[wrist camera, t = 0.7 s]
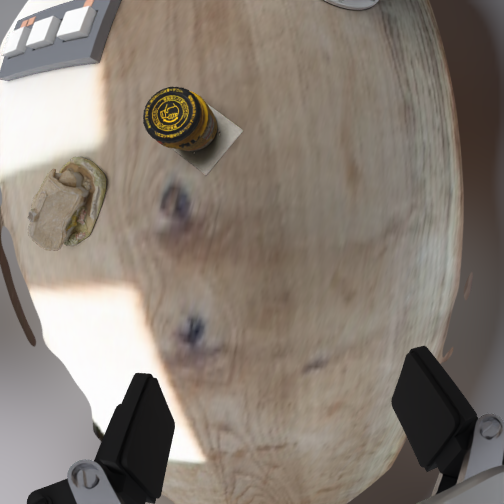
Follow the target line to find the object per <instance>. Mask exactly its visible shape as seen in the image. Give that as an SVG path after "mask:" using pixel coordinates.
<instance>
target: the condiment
mask: <svg viewBox="0 0 504 504" xmlns="http://www.w3.org/2000/svg"><path fill="white" fill-rule="evenodd" d="M143 119H144V120H143V121H144V122H143V123H144V126H145V128H146V130H147V132H148V133H149V135H150V136H152V138H154V139H156V140H157V141H158V142H159V143H160V144H162V145H163V146H166V147H168V148H171V149H173V150H174V151H175V152H177V153H178V154H179V155H180V156H182V157H183V158H184V159H186V160H187V161H188V162H190V163H191V164H192V165H194V166H195V167H196V168H197V169H199V170H200V171H201V172H203V173H204V174H205V175H207V174H208V173H209V171H210V170H211V169H212V168H213V166H214V165H215V164H216V163H217V161H218V160H219V159H220V158H221V157H222V155H223V154H224V153H225V152H226V151H227V149H228V148H229V147H230V146H231V144H232V143H233V142H234V141H235V140H236V139H237V137H238V136H239V135H240V134H241V133H242V131H243V130H242V129H240V128H239V127H238V126H237V125H235V124H234V123H233V122H231V121H230V120H228V119H227V118H226V117H225V116H223V115H222V114H220V113H219V112H218V111H216V110H215V109H214V108H212V107H211V106H209V105H208V104H207V103H206V102H205V101H204V100H203V99H202V98H201V96H199V95H197V94H196V93H194V92H191V91H189V90H187V89H184V88H179V87H168V88H165V89H163V90H160V91H159V92H157V93H156V94H155V95H154V96H153V97H151V99H150V100H149V101H148V102H147V104H146V106H145V110H144V115H143ZM218 130H219V131H220V132H218ZM219 133H220V136H219Z"/></svg>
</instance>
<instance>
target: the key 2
mask: <svg viewBox="0 0 504 504" xmlns="http://www.w3.org/2000/svg"><path fill="white" fill-rule="evenodd" d="M61 22H62V20H60V19H58V18H57V17H55V16H51V17H48V18H45V19H42V20H40V21H37V22H34V25H33V27H32V30H31V32H30V35H29V38H28V40H27V43H26V46H27V47H30V48H33V49H35V50H37V49H40V48H44V47H47V46H51V45H53V44H54V41H55V38H56V35H57V32H58V30H59V27H60V25H61Z"/></svg>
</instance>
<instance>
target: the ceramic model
mask: <svg viewBox="0 0 504 504" xmlns="http://www.w3.org/2000/svg"><path fill="white" fill-rule="evenodd" d="M55 172H56V170H55V169H52V170H51V171H50V172H49V173H48V175H47V176H46V178H45V180H44V181H43V183H42V185H41V187H40V189H39V191H38V193H37V194H36V195H35V196H34V198H33V202H32V206H31V211H30V212H29V216H28V219H29V220H30V224H29V226H28V235H29V237H31V239H32V240H33V241H34V242H35V243H36V244H37V245H39V246H40V247H41V248H43V249H45V250H49V251H51V250H53V251H55V250H56V251H57V250H59V249H60V248H61V247H62V245H63V243H64V244H65V245H72V246H74V245H75V244H78V243H79V242H80V241H82V240H84V239H85V238H87V237H88V236H89V235H90V234H91V232H92V229H93V227H94V224H95V222H96V219H97V217H98V214H99V211H100V209H101V205H102V202H103V199H104V195H105V191H106V178H105V175H104V173H103V172H102V171H101V170H100V169H99V167H97V166H96V164H94V163H93V162H92V161H90V160H87V159H84V158H80V157H73V158H72V159H71V160H70V162H68V163H67V164H65V165H64V166H63V167H62V169H61V170H60V172H59V173H55Z"/></svg>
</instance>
